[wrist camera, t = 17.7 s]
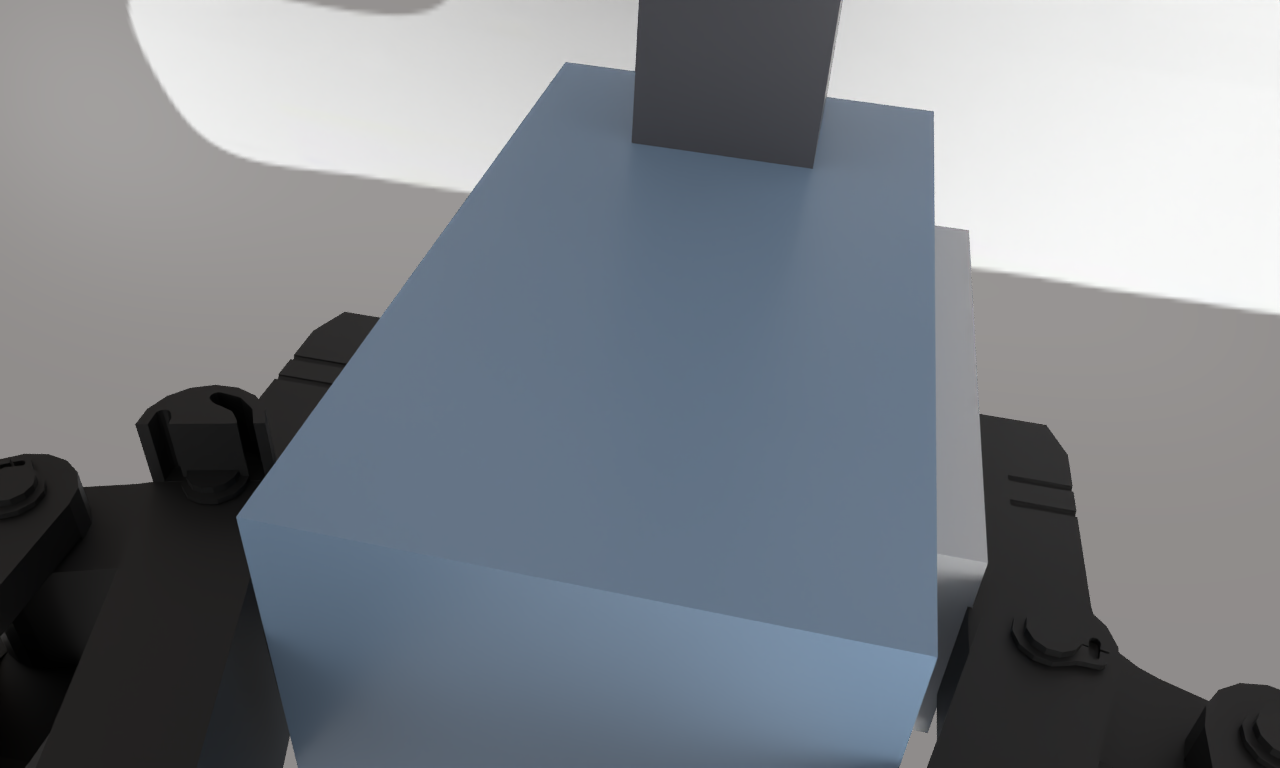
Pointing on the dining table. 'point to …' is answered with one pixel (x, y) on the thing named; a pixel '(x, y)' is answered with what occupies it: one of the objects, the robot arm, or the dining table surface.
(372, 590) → the plug
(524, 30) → the dining table surface
